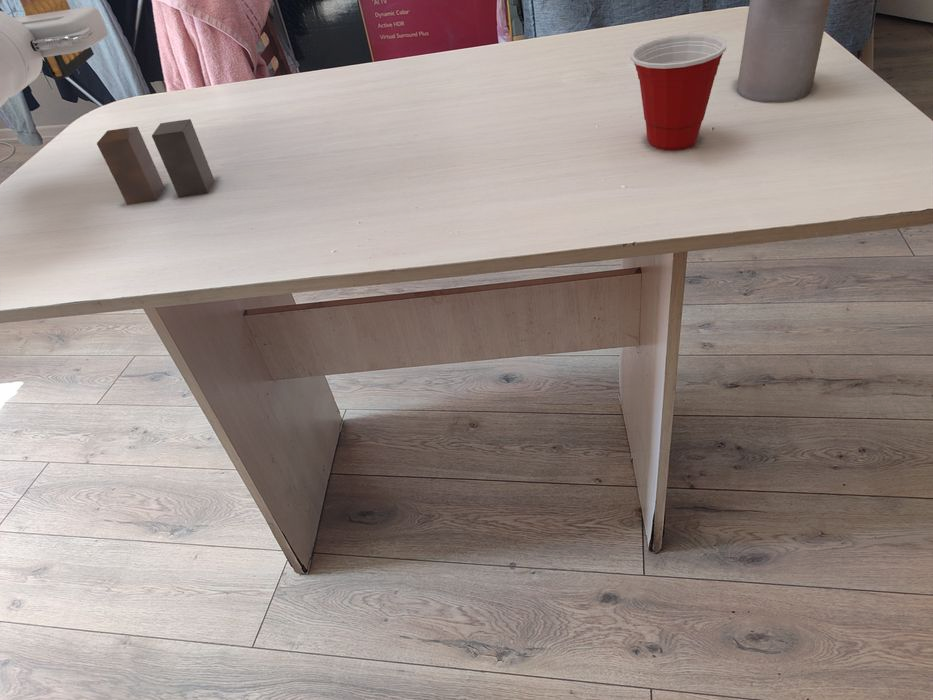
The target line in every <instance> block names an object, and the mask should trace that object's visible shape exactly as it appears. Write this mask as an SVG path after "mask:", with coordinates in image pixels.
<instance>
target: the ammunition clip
mask: <svg viewBox="0 0 933 700" xmlns="http://www.w3.org/2000/svg"><path fill="white" fill-rule="evenodd" d="M19 2H20V5H21V7H22V10H23V11H24V14H25V15H24V16H29V15H36V14H42V13H49V12H56V11H63V10H69V9H71V7H70V5H69V3H68V1H67V0H19ZM94 55H95V53H94V50H93V48H92V47H90V48H88V49H85V50H82V51H79V52H75V53H69V54H62V55H56V56H49V57H42V60H43V61H44V63H45V65H46V67H47V69H48V71H49V73H50V75H51V77H52V79H53V80H60V79H67V78H68V77H70V76H71V75H72V74H73V73H74V72H76V71H77V70H78V69H79V68H80V67H81V66H82V65H84V64H85V63H86V62H87V61H88V60H90V59H91V58H92V57H93V56H94Z"/></svg>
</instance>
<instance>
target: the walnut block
mask: <svg viewBox="0 0 933 700" xmlns="http://www.w3.org/2000/svg"><path fill="white" fill-rule="evenodd" d="M96 145H97V148H98V149H99V152H100V153H101V155H102V158H103V160H104V161H105V164H106V165H107V167H108V170H109V172H110V173H111V176H112V177H113V179H114V181H115V183H116V186H117V187H118V190H119V191H120V194H121V196H122V198H123V200H124V202H125V204H126V205H127V206H129V205H135V204H141V203H142V204H143V203H149V202H156V201H158V199H159V197H160V196H161V194H162V192H163V190H164V188H165V185H164V183H163V179H162V178H161V176H160V174H159V171H158V170H157V167H156V165H155V162H154V160H153V158H152V156H151V154H150V152H149V149H148V146H147V144H146V142H145V140H144V137H143V136H142V133H141V132H140V129H139V126H130V127H124V128H116V129H110V130H109V129H108V130H107V131H106V132H105V133H104V134H103V135H102V136H101V137H100V139H99V140H98V141H97V142H96Z"/></svg>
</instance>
